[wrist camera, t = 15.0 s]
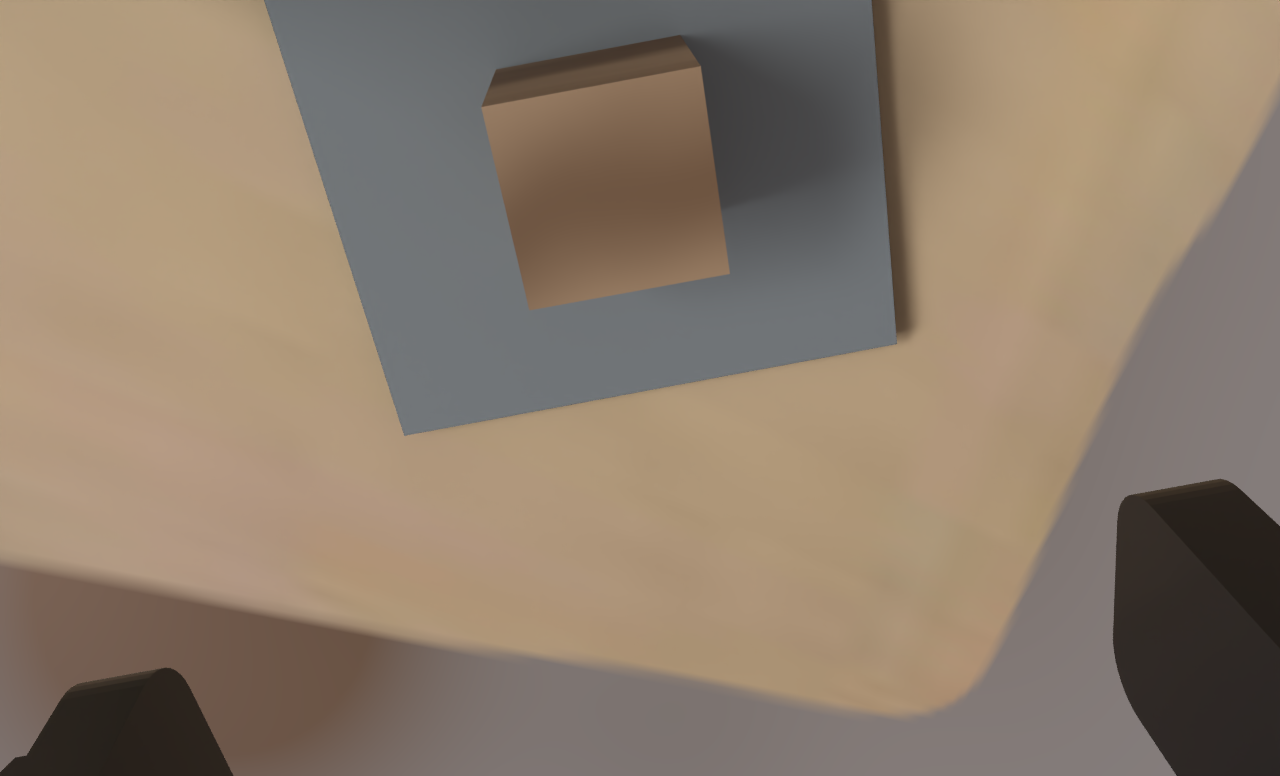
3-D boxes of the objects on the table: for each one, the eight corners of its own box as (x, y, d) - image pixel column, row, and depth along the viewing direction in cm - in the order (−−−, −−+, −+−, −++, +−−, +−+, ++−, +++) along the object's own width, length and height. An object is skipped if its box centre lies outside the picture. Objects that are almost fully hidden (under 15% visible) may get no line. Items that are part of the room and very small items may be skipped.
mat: (237, -107, 24) (229, -107, 23) (848, -230, 23) (854, -233, 23) (407, 425, 30) (404, 435, 29) (890, 335, 30) (896, 344, 29)
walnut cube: (495, 69, 25) (481, 107, 21) (680, 34, 25) (700, 65, 21) (536, 245, 27) (529, 310, 23) (706, 214, 27) (729, 273, 23)
